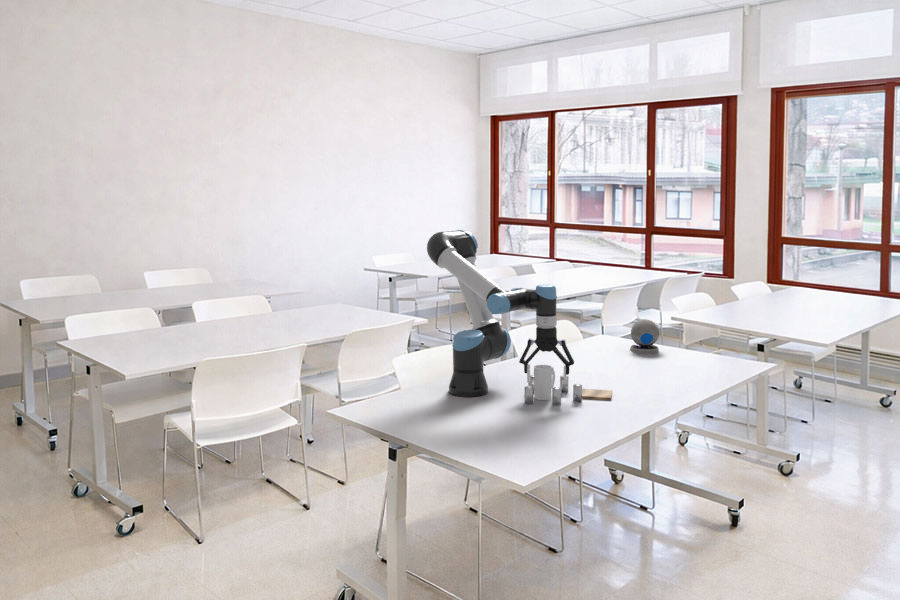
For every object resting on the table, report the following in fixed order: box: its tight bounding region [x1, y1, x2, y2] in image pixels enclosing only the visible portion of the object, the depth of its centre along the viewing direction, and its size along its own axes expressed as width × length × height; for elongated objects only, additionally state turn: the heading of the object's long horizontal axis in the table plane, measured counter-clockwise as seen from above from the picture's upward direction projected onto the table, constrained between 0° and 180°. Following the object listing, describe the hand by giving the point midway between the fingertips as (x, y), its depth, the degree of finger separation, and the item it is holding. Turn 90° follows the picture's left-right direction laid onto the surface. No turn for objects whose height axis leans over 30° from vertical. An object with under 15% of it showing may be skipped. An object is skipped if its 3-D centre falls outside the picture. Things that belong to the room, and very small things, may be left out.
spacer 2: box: [523, 385, 534, 406], centre depth 273 cm, size 3×3×6 cm
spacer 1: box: [527, 374, 534, 393], centre depth 288 cm, size 3×3×6 cm
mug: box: [533, 364, 556, 401], centre depth 280 cm, size 10×7×12 cm, turn 131°
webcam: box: [629, 318, 660, 354], centre depth 354 cm, size 13×13×15 cm
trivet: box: [582, 388, 613, 401], centre depth 282 cm, size 12×10×1 cm
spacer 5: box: [572, 383, 583, 403], centre depth 275 cm, size 3×3×6 cm
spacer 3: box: [551, 386, 562, 406], centre depth 271 cm, size 3×3×6 cm
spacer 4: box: [559, 374, 569, 394], centre depth 287 cm, size 3×3×6 cm
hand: (546, 382), depth 279 cm, fingers open, 13 cm apart
